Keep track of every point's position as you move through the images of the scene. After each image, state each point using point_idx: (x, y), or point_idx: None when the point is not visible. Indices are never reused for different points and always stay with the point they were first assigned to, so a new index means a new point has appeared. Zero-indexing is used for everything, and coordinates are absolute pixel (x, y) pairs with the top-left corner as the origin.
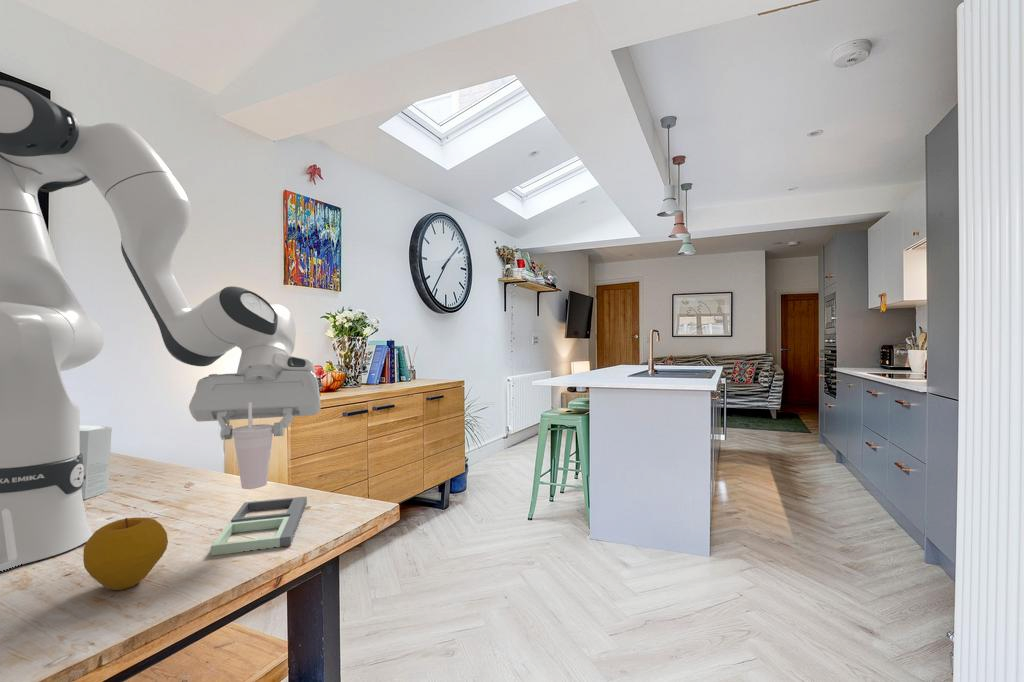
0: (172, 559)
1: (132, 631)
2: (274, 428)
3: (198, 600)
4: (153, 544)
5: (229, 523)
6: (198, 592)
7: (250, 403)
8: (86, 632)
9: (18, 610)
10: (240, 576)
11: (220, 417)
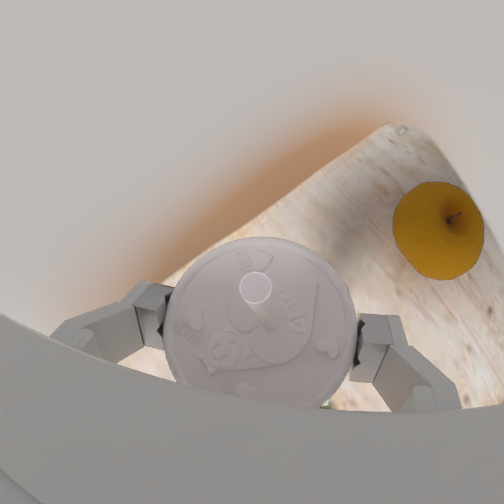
0: (392, 311)
1: (367, 144)
2: (166, 290)
3: (325, 173)
4: (403, 198)
5: (326, 402)
6: (330, 191)
7: (251, 277)
8: (406, 159)
9: (487, 232)
10: (288, 212)
11: (436, 383)
